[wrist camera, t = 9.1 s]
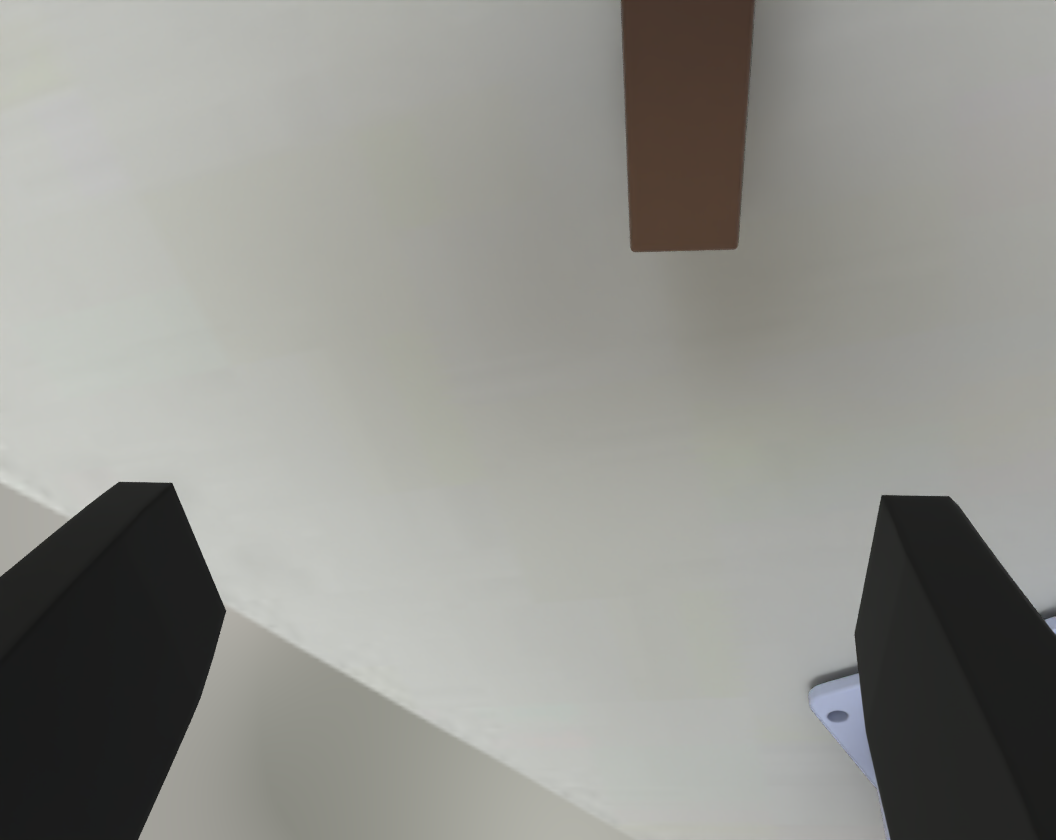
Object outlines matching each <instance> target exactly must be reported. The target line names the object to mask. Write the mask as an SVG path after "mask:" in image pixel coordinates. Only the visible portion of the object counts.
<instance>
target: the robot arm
mask: <svg viewBox="0 0 1056 840" xmlns="http://www.w3.org/2000/svg"><path fill="white" fill-rule="evenodd" d="M225 613H226V610H225V607H224V605H223V603H222V600H221V598H220V596H219V593H218V591H217V588H216V586H215V584H214V581H213V579H212V576H211V574H210V572H209V569H208V567H207V565H206V562H205V560H204V557H203V555H202V553H201V550H200V548H199V546H198V543H197V541H196V538H195V536H194V534H193V531H192V529H191V526H190V524H189V522H188V519H187V517H186V515H185V512H184V510H183V507H182V505H181V503H180V500H179V498H178V496H177V493H176V491H175V488H174V486H173V484H172V483H148V482H118V483H117V484H116V485H114V486H113V487H112V488H110V489H109V490H107V491H106V492H105V493H103V494H102V495H101V496H99V497H98V498H97V499H96V500H94V501H93V502H92V503H90V504H89V505H88V506H87V507H85V508H84V509H83V510H82V511H80V512H79V513H78V514H77V515H75V516H74V517H73V518H72V519H70V520H69V521H68V522H67V523H65V524H64V525H63V526H62V527H61V528H59V529H58V530H57V531H56V532H54V533H53V534H52V535H51V536H50V537H48V538H47V539H46V540H45V541H44V542H42V543H41V544H40V545H39V546H37V547H36V548H35V549H34V550H32V551H31V552H30V553H29V554H28V555H27V556H25V557H24V558H23V559H22V560H20V561H19V562H18V563H17V564H16V565H14V566H13V567H12V568H11V569H9V570H8V571H7V572H6V573H5V574H3V575H2V576H1V577H0V840H138V838H139V836H140V834H141V832H142V830H143V827H144V825H145V823H146V821H147V818H148V816H149V814H150V812H151V810H152V807H153V805H154V803H155V801H156V798H157V796H158V794H159V792H160V790H161V787H162V785H163V783H164V781H165V778H166V776H167V774H168V772H169V770H170V767H171V765H172V763H173V760H174V758H175V756H176V754H177V751H178V749H179V746H180V744H181V742H182V740H183V738H184V735H185V733H186V731H187V729H188V726H189V724H190V722H191V719H192V717H193V715H194V712H195V710H196V708H197V705H198V703H199V700H200V698H201V695H202V691H203V688H204V685H205V682H206V679H207V676H208V672H209V669H210V666H211V663H212V660H213V656H214V652H215V649H216V645H217V642H218V638H219V635H220V631H221V627H222V624H223V620H224V616H225ZM855 643H856V653H857V662H858V671H859V673H857V674H853V675H850V676H846V677H843V678H839V679H836V680H832V681H829V682H825V683H822V684H819V685H817V686H815V687H813V688H812V689H811V690H810V691H809V694H808V698H809V706H810V708H811V710H812V711H813V712H814V714H815V715H816V716H817V717H818V718H819V720H820V721H821V722H822V723H823V725H824V726H825V727H826V728H827V729H828V731H829V732H830V733H831V734H832V735H833V737H834V738H835V739H836V740H837V742H838V743H839V744H840V745H841V746H842V748H843V749H844V750H845V751H846V752H847V754H848V755H849V756H850V757H851V759H852V760H853V761H854V762H855V763H856V765H857V766H858V767H859V768H860V769H861V771H862V772H863V773H864V774H865V776H866V777H867V778H868V779H869V780H870V782H871V783H872V784H873V785H874V787H875V788H876V789H877V791H878V796H879V802H880V807H881V813H882V819H883V824H884V830H885V835H886V840H1056V616H1055V617H1051V618H1048V619H1043V618H1042V617H1041V616H1040V614H1039V613H1038V612H1037V610H1036V609H1035V608H1034V607H1033V605H1032V604H1031V603H1030V601H1029V600H1028V599H1027V597H1026V596H1025V595H1024V594H1023V592H1022V591H1021V590H1020V588H1019V587H1018V586H1017V584H1016V583H1015V582H1014V581H1013V579H1012V578H1011V577H1010V575H1009V574H1008V573H1007V571H1006V570H1005V569H1004V567H1003V566H1002V565H1001V563H1000V562H999V561H998V559H997V558H996V556H995V555H994V554H993V552H992V551H991V550H990V548H989V547H988V546H987V544H986V543H985V542H984V540H983V539H982V537H981V536H980V535H979V533H978V532H977V530H976V529H975V528H974V526H973V525H972V524H971V522H970V521H969V519H968V518H967V517H966V515H965V514H964V512H963V511H962V510H961V508H960V507H959V506H958V505H957V504H956V503H955V502H954V501H953V500H952V499H951V498H950V497H949V496H897V495H882V496H881V501H880V506H879V512H878V517H877V522H876V527H875V532H874V537H873V542H872V547H871V553H870V558H869V563H868V568H867V573H866V578H865V583H864V588H863V594H862V599H861V604H860V609H859V614H858V619H857V624H856V629H855Z"/></svg>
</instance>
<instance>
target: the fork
mask: <svg viewBox="0 0 1056 840" xmlns="http://www.w3.org/2000/svg"><path fill="white" fill-rule="evenodd" d="M754 14H755V0H621V20H622V46H623V72H624V98H625V124H626V150H627V176H628V202H629V228H630V248H631V250H632V251H633V252H660V251H699V250H734V249H736V248H737V246H738V243H739V229H740V214H741V200H742V186H743V171H744V157H745V143H746V128H747V114H748V100H749V85H750V71H751V57H752V43H753V28H754Z"/></svg>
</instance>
